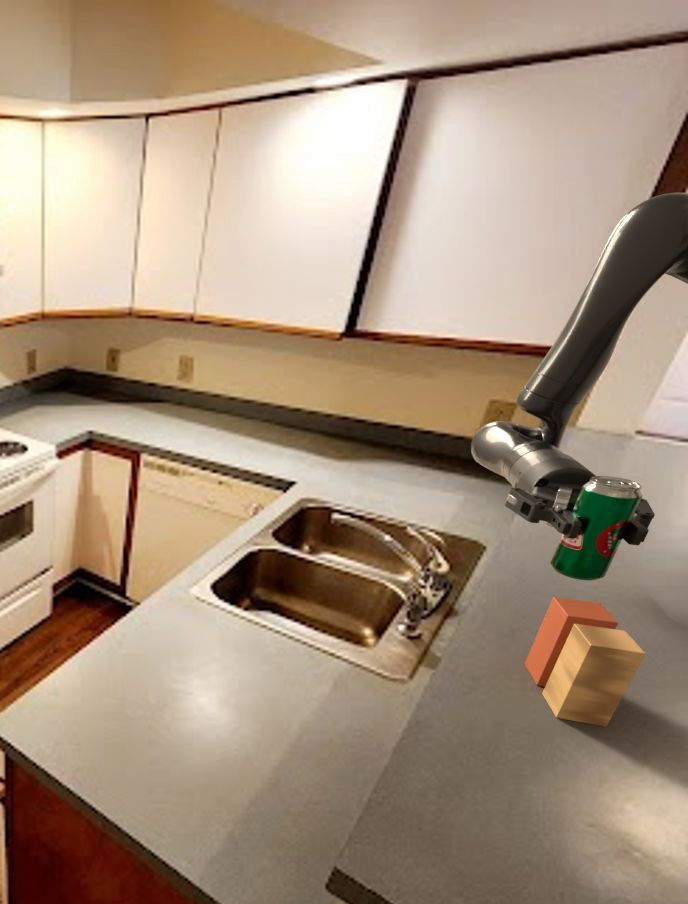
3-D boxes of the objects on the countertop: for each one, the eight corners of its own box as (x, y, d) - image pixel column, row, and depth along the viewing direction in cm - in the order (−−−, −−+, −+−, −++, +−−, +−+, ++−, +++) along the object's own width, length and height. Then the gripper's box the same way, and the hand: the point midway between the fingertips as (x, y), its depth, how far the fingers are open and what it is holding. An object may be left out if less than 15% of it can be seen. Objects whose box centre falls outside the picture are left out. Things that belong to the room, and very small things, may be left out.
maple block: (589, 702, 72) (625, 630, 68) (606, 727, 68) (646, 653, 64) (541, 693, 74) (573, 623, 69) (556, 717, 70) (591, 645, 66)
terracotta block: (568, 671, 77) (600, 602, 72) (583, 693, 73) (618, 622, 69) (524, 664, 78) (553, 596, 74) (536, 685, 75) (568, 615, 70)
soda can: (543, 559, 80) (579, 472, 75) (595, 566, 78) (636, 477, 72) (555, 578, 76) (594, 487, 71) (610, 585, 74) (654, 492, 68)
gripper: (496, 453, 87) (540, 498, 73) (631, 462, 81) (706, 512, 67) (479, 502, 90) (518, 554, 76) (608, 514, 85) (674, 572, 71)
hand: (606, 534), depth 72 cm, fingers closed on soda can, 5 cm apart
